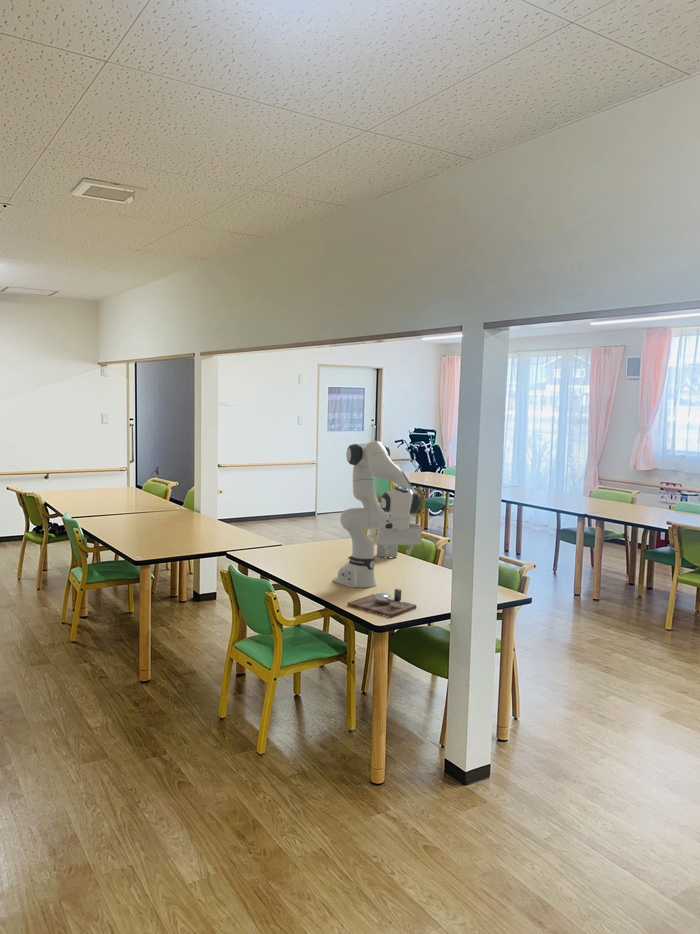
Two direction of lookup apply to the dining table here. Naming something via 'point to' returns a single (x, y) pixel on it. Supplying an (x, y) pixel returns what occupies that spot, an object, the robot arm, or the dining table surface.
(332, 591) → the dining table surface
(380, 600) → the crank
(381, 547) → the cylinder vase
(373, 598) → the board
